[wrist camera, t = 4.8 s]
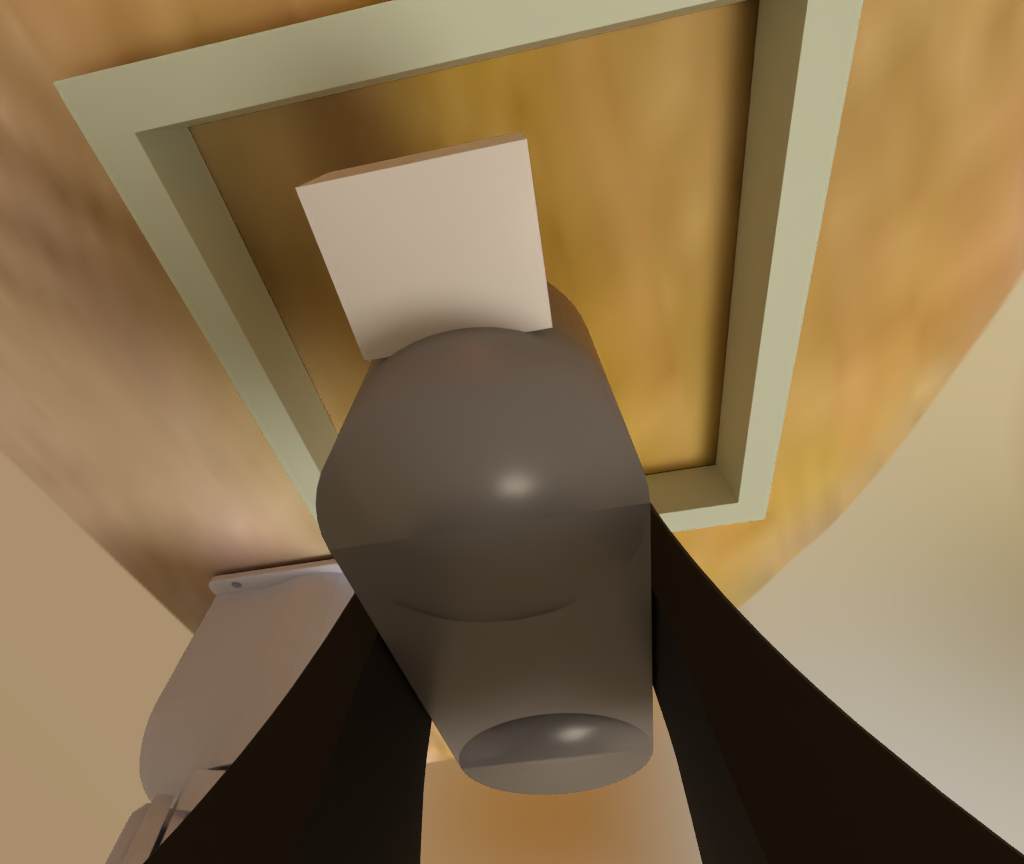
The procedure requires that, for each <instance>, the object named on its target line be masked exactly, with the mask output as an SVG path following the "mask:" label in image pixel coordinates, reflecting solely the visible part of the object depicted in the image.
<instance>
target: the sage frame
mask: <svg viewBox="0 0 1024 864" xmlns="http://www.w3.org/2000/svg"><path fill="white" fill-rule="evenodd" d="M743 1H747V0H392V1H388V2H384V3H379V4H375V5H371V6H367V7H363V8H359V9H354V10H350V11H346V12H342V13H338V14H334V15H329V16H325V17H321V18H317V19H313V20H309V21H304V22H300V23H296V24H292V25H288V26H284V27H280V28H275V29H271V30H267V31H263V32H259V33H255V34H250V35H246V36H242V37H238V38H234V39H230V40H225V41H221V42H217V43H213V44H209V45H205V46H200V47H196V48H192V49H188V50H184V51H180V52H175V53H171V54H167V55H163V56H159V57H155V58H150V59H146V60H142V61H138V62H134V63H130V64H126V65H121V66H117V67H113V68H109V69H105V70H101V71H96V72H92V73H88V74H84V75H80V76H76V77H71V78H67V79H63V80H59V81H55V82H52V83H53V85H54V86H55V88H56V90H57V91H58V93H59V95H60V96H61V98H62V100H63V101H64V103H65V105H66V106H67V108H68V110H69V111H70V113H71V115H72V116H73V118H74V120H75V121H76V123H77V125H78V126H79V128H80V130H81V131H82V133H83V135H84V136H85V138H86V140H87V141H88V143H89V145H90V146H91V148H92V150H93V151H94V153H95V155H96V156H97V158H98V160H99V161H100V163H101V165H102V166H103V168H104V170H105V171H106V173H107V175H108V176H109V178H110V180H111V181H112V183H113V185H114V186H115V188H116V190H117V191H118V193H119V195H120V196H121V198H122V200H123V201H124V203H125V205H126V206H127V208H128V210H129V211H130V213H131V215H132V216H133V218H134V220H135V221H136V223H137V225H138V226H139V228H140V230H141V231H142V233H143V235H144V236H145V238H146V240H147V241H148V243H149V245H150V246H151V248H152V250H153V251H154V253H155V255H156V256H157V258H158V260H159V261H160V263H161V265H162V266H163V268H164V270H165V271H166V273H167V275H168V276H169V278H170V280H171V281H172V283H173V285H174V286H175V288H176V290H177V291H178V293H179V295H180V296H181V298H182V300H183V301H184V303H185V305H186V306H187V308H188V310H189V311H190V313H191V315H192V316H193V318H194V320H195V321H196V323H197V325H198V326H199V328H200V330H201V331H202V333H203V335H204V336H205V338H206V340H207V341H208V343H209V345H210V346H211V348H212V350H213V351H214V353H215V355H216V356H217V358H218V360H219V361H220V363H221V365H222V366H223V368H224V370H225V371H226V373H227V375H228V376H229V378H230V380H231V381H232V383H233V385H234V386H235V388H236V390H237V391H238V393H239V395H240V396H241V398H242V400H243V401H244V403H245V405H246V406H247V408H248V410H249V411H250V413H251V415H252V416H253V418H254V420H255V421H256V423H257V425H258V426H259V428H260V430H261V431H262V433H263V435H264V436H265V438H266V440H267V441H268V443H269V445H270V446H271V448H272V450H273V451H274V453H275V455H276V456H277V458H278V460H279V461H280V463H281V465H282V466H283V468H284V470H285V471H286V473H287V475H288V476H289V478H290V480H291V481H292V483H293V485H294V486H295V488H296V490H297V491H298V493H299V495H300V496H301V498H302V500H303V501H304V503H305V505H306V506H307V508H308V510H309V511H310V513H311V515H312V516H313V518H314V520H315V521H316V523H317V525H318V526H319V524H318V521H317V513H316V491H317V485H318V482H319V478H320V474H321V471H322V469H323V467H324V465H325V463H326V460H327V458H328V456H329V454H330V452H331V450H332V447H333V445H334V443H335V441H336V439H337V437H338V435H337V433H336V430H335V428H334V426H333V424H332V422H331V420H330V418H329V416H328V414H327V412H326V410H325V408H324V406H323V404H322V402H321V400H320V398H319V396H318V394H317V391H316V389H315V387H314V385H313V383H312V381H311V379H310V377H309V375H308V373H307V371H306V369H305V367H304V365H303V363H302V361H301V359H300V357H299V354H298V352H297V350H296V348H295V346H294V344H293V342H292V340H291V338H290V336H289V334H288V332H287V330H286V328H285V326H284V324H283V322H282V320H281V318H280V315H279V313H278V311H277V309H276V307H275V305H274V303H273V301H272V299H271V297H270V295H269V293H268V291H267V289H266V287H265V285H264V283H263V281H262V279H261V276H260V274H259V272H258V270H257V268H256V266H255V264H254V262H253V260H252V258H251V256H250V254H249V252H248V250H247V248H246V246H245V244H244V242H243V240H242V237H241V235H240V233H239V231H238V229H237V227H236V225H235V223H234V221H233V219H232V217H231V215H230V213H229V211H228V209H227V207H226V205H225V203H224V200H223V198H222V196H221V194H220V192H219V190H218V188H217V186H216V184H215V182H214V180H213V178H212V176H211V174H210V172H209V170H208V168H207V166H206V164H205V161H204V159H203V157H202V155H201V153H200V151H199V149H198V147H197V145H196V143H195V141H194V139H193V137H192V135H191V133H190V131H189V129H188V127H190V126H195V125H199V124H204V123H208V122H213V121H217V120H221V119H226V118H230V117H235V116H239V115H243V114H248V113H252V112H257V111H261V110H266V109H270V108H274V107H279V106H283V105H288V104H292V103H297V102H301V101H305V100H310V99H314V98H319V97H323V96H327V95H332V94H336V93H341V92H345V91H350V90H354V89H358V88H363V87H367V86H372V85H376V84H380V83H385V82H389V81H394V80H398V79H403V78H407V77H411V76H416V75H420V74H425V73H429V72H434V71H438V70H442V69H447V68H451V67H456V66H460V65H464V64H469V63H473V62H478V61H482V60H487V59H491V58H495V57H500V56H504V55H509V54H513V53H517V52H522V51H526V50H531V49H535V48H540V47H544V46H548V45H553V44H557V43H562V42H566V41H571V40H575V39H579V38H584V37H588V36H593V35H597V34H601V33H606V32H610V31H615V30H619V29H624V28H628V27H632V26H637V25H641V24H646V23H650V22H655V21H659V20H663V19H668V18H672V17H677V16H681V15H685V14H690V13H694V12H699V11H703V10H708V9H712V8H716V7H721V6H725V5H730V4H734V3H738V2H743ZM862 5H863V0H759V11H758V21H757V32H756V42H755V53H754V64H753V74H752V85H751V96H750V106H749V117H748V127H747V138H746V149H745V159H744V170H743V180H742V191H741V202H740V212H739V223H738V233H737V244H736V255H735V265H734V276H733V286H732V297H731V308H730V318H729V329H728V339H727V350H726V361H725V371H724V382H723V392H722V403H721V414H720V424H719V435H718V445H717V456H716V465H711V466H704V467H698V468H691V469H684V470H678V471H671V472H664V473H658V474H651V475H645V477H646V480H647V484H648V487H649V497H650V502H651V503H652V505H653V506H654V508H655V510H656V511H657V512H658V514H659V515H660V517H661V518H662V520H663V521H664V522H665V524H666V525H667V527H668V528H669V529H670V531H671V532H677V531H685V530H692V529H699V528H706V527H713V526H720V525H727V524H734V523H741V522H748V521H756V520H763V519H765V517H766V511H767V506H768V501H769V495H770V490H771V485H772V480H773V474H774V469H775V464H776V459H777V453H778V448H779V443H780V437H781V432H782V427H783V422H784V416H785V411H786V406H787V401H788V395H789V390H790V385H791V379H792V374H793V369H794V364H795V358H796V353H797V348H798V343H799V337H800V332H801V327H802V321H803V316H804V311H805V306H806V300H807V295H808V290H809V285H810V279H811V274H812V269H813V263H814V258H815V253H816V248H817V242H818V237H819V232H820V227H821V221H822V216H823V211H824V205H825V200H826V195H827V190H828V184H829V179H830V174H831V169H832V163H833V158H834V153H835V147H836V142H837V137H838V132H839V126H840V121H841V116H842V111H843V105H844V100H845V95H846V89H847V84H848V79H849V74H850V68H851V63H852V58H853V53H854V47H855V42H856V37H857V31H858V26H859V21H860V16H861V10H862Z"/></svg>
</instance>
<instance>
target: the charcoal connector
mask: <svg viewBox="0 0 1024 864" xmlns="http://www.w3.org/2000/svg"><path fill="white" fill-rule="evenodd" d="M295 189H296V191H297V194H298V196H299V199H300V201H301V204H302V206H303V209H304V211H305V214H306V216H307V219H308V221H309V224H310V226H311V229H312V231H313V234H314V236H315V239H316V241H317V244H318V246H319V249H320V251H321V254H322V256H323V259H324V261H325V264H326V266H327V269H328V271H329V274H330V276H331V279H332V281H333V283H334V286H335V288H336V291H337V293H338V296H339V298H340V301H341V303H342V306H343V308H344V311H345V313H346V316H347V318H348V321H349V323H350V326H351V328H352V331H353V333H354V336H355V338H356V341H357V343H358V346H359V348H360V351H361V353H362V356H363V358H364V361H368V360H373V361H372V363H371V365H370V367H369V370H368V372H367V374H366V376H365V378H364V380H363V383H362V385H361V387H360V389H359V391H358V393H357V396H356V398H355V400H354V402H353V404H352V406H351V409H350V411H349V413H348V415H347V417H346V419H345V421H344V424H343V426H342V428H341V430H340V432H339V434H338V437H337V439H336V441H335V443H334V445H333V447H332V450H331V452H330V454H329V456H328V458H327V460H326V463H325V465H324V467H323V469H322V471H321V474H320V478H319V482H318V485H317V491H316V513H317V521H318V524H319V528H320V531H321V534H322V537H323V539H324V541H325V543H326V545H327V547H328V549H329V551H330V552H331V554H332V555H333V557H334V559H335V560H336V562H337V564H338V565H339V567H340V569H341V570H342V572H343V574H344V575H345V577H346V579H347V580H348V582H349V584H350V585H351V587H352V589H353V590H354V592H355V593H356V595H357V597H358V598H359V600H360V602H361V603H362V605H363V607H364V608H365V610H366V612H367V613H368V615H369V617H370V618H371V620H372V622H373V623H374V625H375V627H376V628H377V630H378V631H379V633H380V635H381V636H382V638H383V640H384V641H385V643H386V645H387V646H388V648H389V650H390V651H391V653H392V655H393V656H394V658H395V660H396V661H397V663H398V665H399V666H400V668H401V669H402V671H403V673H404V674H405V676H406V678H407V679H408V681H409V683H410V684H411V686H412V688H413V689H414V691H415V693H416V694H417V696H418V698H419V699H420V701H421V703H422V704H423V706H424V707H425V709H426V711H427V712H428V714H429V716H430V717H431V719H432V721H433V722H434V724H435V726H436V727H437V729H438V731H439V732H440V734H441V736H442V737H443V739H444V741H445V742H446V744H447V745H448V747H449V749H450V750H451V752H452V754H453V755H454V757H455V759H456V760H457V762H458V763H459V765H460V766H461V768H462V770H463V771H464V772H465V774H467V775H468V776H469V777H470V778H472V779H473V780H475V781H476V782H479V783H481V784H483V785H485V786H489V787H491V788H494V789H498V790H502V791H507V792H513V793H521V794H534V795H538V794H539V795H551V794H567V793H575V792H581V791H586V790H592V789H596V788H600V787H603V786H607V785H610V784H613V783H616V782H618V781H621V780H623V779H625V778H627V777H629V776H631V775H632V774H634V773H636V772H637V771H639V770H640V769H641V768H642V767H643V766H644V765H646V763H647V762H648V761H649V760H650V758H651V756H652V752H653V695H652V612H651V531H650V497H649V487H648V484H647V480H646V477H645V474H644V470H643V468H642V465H641V463H640V460H639V458H638V455H637V453H636V450H635V448H634V445H633V443H632V440H631V438H630V435H629V433H628V430H627V427H626V425H625V422H624V420H623V417H622V415H621V412H620V410H619V407H618V405H617V402H616V400H615V397H614V395H613V392H612V390H611V387H610V384H609V382H608V379H607V377H606V374H605V372H604V369H603V367H602V364H601V362H600V359H599V357H598V354H597V352H596V349H595V346H594V344H593V341H592V339H591V336H590V334H589V331H588V329H587V327H586V325H585V323H584V321H583V319H582V317H581V315H580V314H579V312H578V311H577V309H576V308H575V306H574V305H573V304H572V303H571V302H570V301H569V300H568V298H567V297H566V296H565V295H564V294H563V293H561V292H560V291H559V290H558V289H556V288H555V287H554V286H553V285H551V284H549V283H548V282H546V275H545V268H544V261H543V253H542V246H541V239H540V232H539V224H538V217H537V210H536V202H535V195H534V188H533V180H532V173H531V166H530V159H529V151H528V144H527V138H526V137H525V136H524V134H523V133H522V132H521V131H520V132H516V133H511V134H506V135H502V136H497V137H492V138H488V139H483V140H478V141H474V142H469V143H464V144H460V145H455V146H450V147H445V148H441V149H436V150H431V151H427V152H422V153H417V154H413V155H408V156H403V157H399V158H394V159H389V160H384V161H380V162H375V163H370V164H366V165H361V166H356V167H352V168H347V169H342V170H338V171H333V172H329V173H326V174H324V175H322V176H320V177H318V178H316V179H313V180H311V181H309V182H307V183H305V184H303V185H300V186H298V187H296V188H295Z"/></svg>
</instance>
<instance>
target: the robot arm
mask: <svg viewBox="0 0 1024 864" xmlns="http://www.w3.org/2000/svg"><path fill="white" fill-rule="evenodd" d="M650 531H651V612H652V684H653V687H654V690H655V693H656V696H657V699H658V702H659V705H660V708H661V711H662V714H663V717H664V720H665V723H666V726H667V728H668V731H669V735H670V738H671V741H672V745H673V748H674V752H675V755H676V759H677V762H678V766H679V770H680V774H681V778H682V782H683V786H684V790H685V794H686V798H687V802H688V806H689V810H690V814H691V818H692V822H693V826H694V830H695V834H696V839H697V843H698V847H699V851H700V855H701V859H702V863H703V864H1024V855H1023V854H1022V853H1021V852H1019V851H1018V850H1016V849H1015V848H1014V847H1012V846H1011V845H1009V844H1008V843H1007V842H1006V841H1005V840H1003V839H1002V838H1001V837H999V836H998V835H997V834H995V833H994V832H992V830H990V829H989V828H988V827H986V826H985V825H984V824H982V823H981V822H980V821H978V820H977V819H976V818H975V817H973V816H972V815H971V814H969V813H968V812H967V811H965V810H964V809H963V808H961V807H960V806H959V805H958V804H956V803H955V802H954V801H952V800H951V799H950V798H949V797H947V796H946V795H945V794H943V793H942V792H941V791H940V790H938V789H937V788H936V787H935V786H933V785H932V784H931V783H930V782H929V781H927V780H926V779H925V778H924V777H922V776H921V775H920V774H918V772H916V771H915V770H914V769H913V768H911V767H910V766H909V765H908V764H907V763H905V762H904V761H903V760H902V759H900V758H899V757H898V756H897V755H896V754H894V753H893V752H892V751H891V750H889V749H888V748H887V747H886V746H885V745H883V744H882V743H881V742H880V741H878V740H877V739H876V738H875V737H874V736H872V735H871V734H870V733H868V732H867V731H866V730H865V729H864V728H863V727H861V726H860V725H859V724H857V722H855V721H854V720H853V719H852V718H851V717H850V716H849V715H847V714H846V713H845V712H844V711H843V710H842V709H841V708H840V707H838V706H837V705H836V704H835V703H834V702H833V701H832V700H830V699H829V698H828V697H827V696H826V695H825V694H824V693H823V692H821V691H820V690H819V689H818V688H817V687H816V686H815V685H814V684H813V683H812V682H810V681H809V680H808V679H807V678H806V677H805V676H804V675H803V674H802V673H801V672H800V671H798V670H797V669H796V668H795V667H794V666H793V665H792V664H791V663H790V662H789V661H788V660H787V659H786V658H785V657H784V656H783V655H782V654H781V653H780V652H779V651H777V649H776V648H774V647H773V646H772V645H771V644H770V643H769V642H768V641H767V640H766V639H765V638H764V637H763V636H762V635H761V634H760V633H759V631H757V629H756V628H755V627H754V626H753V625H752V624H751V623H750V622H749V621H748V620H747V619H746V618H745V617H744V616H743V615H742V614H741V613H740V612H739V611H738V610H737V609H736V607H735V606H734V605H733V604H732V603H731V602H730V601H729V600H728V599H727V598H726V597H725V596H724V594H723V593H722V592H721V591H720V590H719V589H718V588H717V586H716V585H715V584H714V583H713V582H712V581H711V580H710V578H709V577H708V576H707V575H706V574H705V573H704V572H703V570H702V569H701V568H700V567H699V566H698V565H697V563H696V562H695V561H694V560H693V559H692V557H691V556H690V555H689V554H688V552H687V551H686V550H685V549H684V547H683V546H682V545H681V544H680V542H679V541H678V540H677V539H676V537H675V536H674V535H673V533H672V532H671V531H670V529H669V528H668V527H667V525H666V524H665V522H664V521H663V520H662V518H661V517H660V515H659V514H658V512H657V511H656V510H655V508H654V506H653V505H652V503H651V502H650ZM208 586H209V588H210V590H211V591H212V592H213V593H214V594H215V595H216V597H215V598H214V600H213V602H212V604H211V606H210V607H209V609H208V611H207V613H206V615H205V616H204V618H203V620H202V622H201V624H200V625H199V627H198V629H197V631H196V633H195V634H194V636H193V638H192V640H191V641H190V643H189V645H188V647H187V649H186V651H185V652H184V654H183V656H182V658H181V659H180V661H179V663H178V665H177V667H176V668H175V670H174V672H173V674H172V676H171V677H170V679H169V681H168V683H167V684H166V686H165V688H164V690H163V692H162V693H161V695H160V697H159V699H158V701H157V702H156V704H155V706H154V709H153V711H152V713H151V715H150V718H149V721H148V723H147V726H146V729H145V733H144V737H143V741H142V747H141V753H140V778H141V782H142V785H143V788H144V790H145V793H146V795H147V796H148V798H149V800H151V803H147V804H145V805H144V806H142V807H140V808H139V809H138V810H136V811H134V812H133V813H132V814H131V816H130V818H129V819H128V821H127V823H126V825H125V827H124V829H123V831H122V832H121V834H120V836H119V838H118V840H117V842H116V844H115V846H114V848H113V850H112V852H111V854H110V855H109V857H108V859H107V861H106V863H105V864H420V853H421V829H422V810H423V790H424V778H425V768H426V758H427V751H428V744H429V736H430V729H431V722H432V719H431V717H430V716H429V714H428V712H427V711H426V709H425V707H424V706H423V704H422V703H421V701H420V699H419V698H418V696H417V694H416V693H415V691H414V689H413V688H412V686H411V684H410V683H409V681H408V679H407V678H406V676H405V674H404V673H403V671H402V669H401V668H400V666H399V665H398V663H397V661H396V660H395V658H394V656H393V655H392V653H391V651H390V650H389V648H388V646H387V645H386V643H385V641H384V640H383V638H382V636H381V635H380V633H379V631H378V630H377V628H376V627H375V625H374V623H373V622H372V620H371V618H370V617H369V615H368V613H367V612H366V610H365V608H364V607H363V605H362V603H361V602H360V600H359V598H358V597H357V595H356V593H355V592H354V590H353V589H352V587H351V585H350V584H349V582H348V580H347V579H346V577H345V575H344V574H343V572H342V570H341V569H340V567H339V565H338V564H337V562H336V560H335V559H330V560H323V561H316V562H309V563H302V564H295V565H288V566H281V567H275V568H268V569H261V570H254V571H247V572H240V573H233V574H226V575H219V576H215V577H213V578H212V579H211V580H210V582H209V584H208Z"/></svg>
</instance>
